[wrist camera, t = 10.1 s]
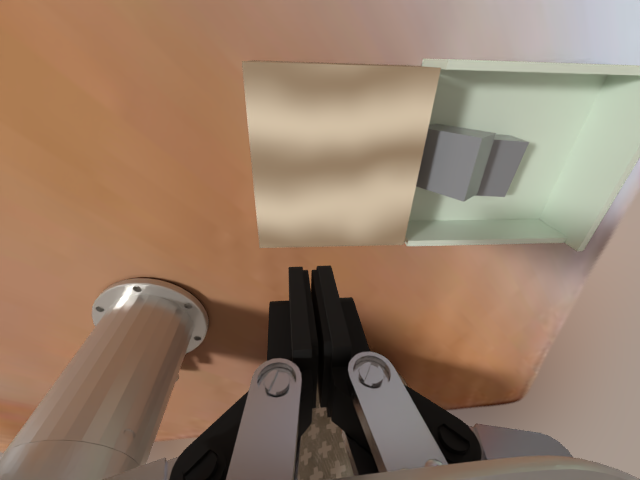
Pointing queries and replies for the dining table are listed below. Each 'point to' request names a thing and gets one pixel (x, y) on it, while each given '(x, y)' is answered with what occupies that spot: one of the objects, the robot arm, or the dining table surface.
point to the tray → (535, 150)
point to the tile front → (454, 160)
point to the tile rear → (502, 165)
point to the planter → (324, 448)
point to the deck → (336, 149)
